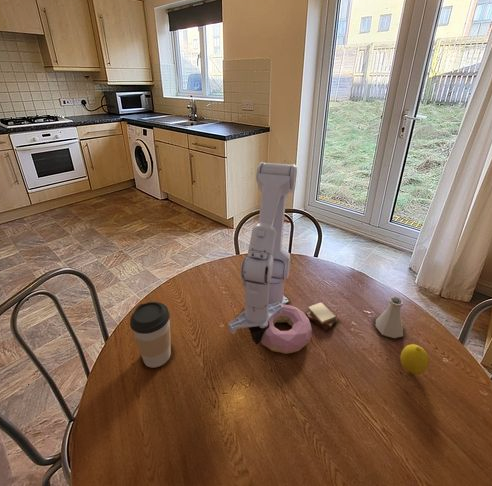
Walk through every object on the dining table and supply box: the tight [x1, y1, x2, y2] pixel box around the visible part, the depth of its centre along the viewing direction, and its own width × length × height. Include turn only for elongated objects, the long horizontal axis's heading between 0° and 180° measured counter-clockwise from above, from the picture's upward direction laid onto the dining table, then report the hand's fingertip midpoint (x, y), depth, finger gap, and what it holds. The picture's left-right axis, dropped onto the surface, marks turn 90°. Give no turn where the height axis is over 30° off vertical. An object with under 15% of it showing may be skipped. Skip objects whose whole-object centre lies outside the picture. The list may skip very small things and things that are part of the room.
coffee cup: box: [129, 301, 172, 369], centre depth 71 cm, size 9×9×15 cm
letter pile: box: [305, 301, 338, 331], centre depth 84 cm, size 8×7×2 cm
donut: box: [260, 303, 313, 355], centre depth 79 cm, size 16×15×5 cm
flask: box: [375, 296, 404, 339], centre depth 80 cm, size 7×7×10 cm
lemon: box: [400, 343, 429, 376], centre depth 68 cm, size 6×6×8 cm
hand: (256, 341), depth 76 cm, fingers closed
